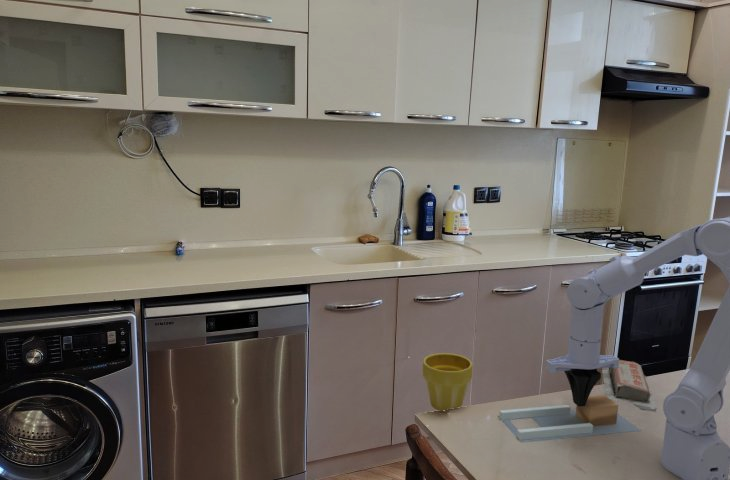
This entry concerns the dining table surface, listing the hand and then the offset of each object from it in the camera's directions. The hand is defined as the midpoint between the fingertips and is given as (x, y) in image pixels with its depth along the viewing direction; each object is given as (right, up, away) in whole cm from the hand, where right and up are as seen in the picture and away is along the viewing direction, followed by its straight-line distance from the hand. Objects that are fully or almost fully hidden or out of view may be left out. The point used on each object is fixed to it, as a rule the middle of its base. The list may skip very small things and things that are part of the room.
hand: (579, 404), depth 105 cm
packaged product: (+18, -3, +18) cm, 25 cm away
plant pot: (-25, -3, +9) cm, 27 cm away
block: (+4, -4, +2) cm, 6 cm away
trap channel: (-2, -5, 0) cm, 5 cm away
